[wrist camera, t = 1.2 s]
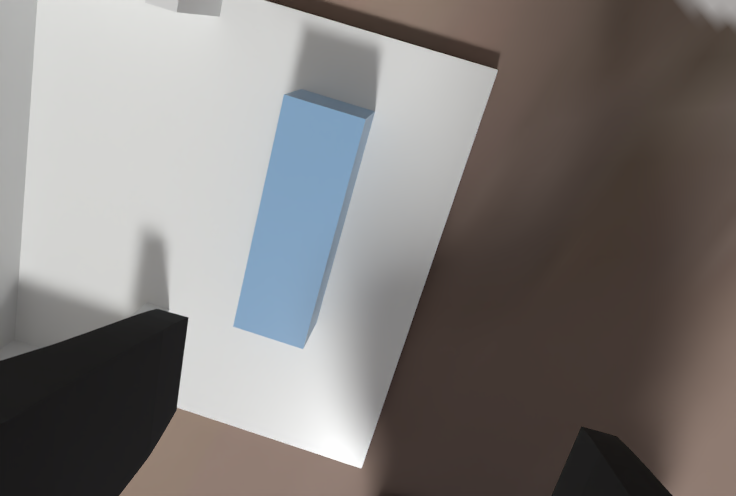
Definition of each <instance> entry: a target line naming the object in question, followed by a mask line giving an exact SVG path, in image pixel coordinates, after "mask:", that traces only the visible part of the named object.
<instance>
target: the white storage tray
mask: <svg viewBox="0 0 736 496" xmlns="http://www.w3.org/2000/svg"><path fill="white" fill-rule="evenodd" d="M497 72H498V70H497V69H494V68H491V67H487V66H484V65H481V64H477V63H474V62H471V61H467V60H464V59H461V58H457V57H454V56H451V55H447V54H444V53H441V52H437V51H434V50H430V49H427V48H424V47H420V46H417V45H414V44H410V43H407V42H404V41H400V40H397V39H394V38H390V37H387V36H384V35H380V34H377V33H374V32H370V31H367V30H363V29H360V28H357V27H353V26H350V25H347V24H343V23H340V22H337V21H333V20H330V19H327V18H323V17H320V16H317V15H313V14H310V13H306V12H303V11H300V10H296V9H293V8H290V7H286V6H283V5H280V4H276V3H273V2H270V1H266V0H0V361H1V360H4V359H8V358H11V357H14V356H17V355H20V354H24V353H27V352H30V351H33V350H36V349H40V348H43V347H46V346H49V345H53V344H55V343H58V342H61V341H64V340H67V339H70V338H73V337H75V336H78V335H81V334H84V333H87V332H90V331H92V330H95V329H98V328H101V327H104V326H106V325H109V324H112V323H115V322H117V321H120V320H123V319H126V318H129V317H131V316H134V315H137V314H140V313H143V312H146V311H150V310H154V309H160V310H164V311H167V312H171V313H174V314H178V315H182V316H185V317H189V318H188V326H187V333H186V341H185V348H184V356H183V364H182V371H181V379H180V387H179V394H178V402H177V408H180V409H183V410H186V411H189V412H192V413H195V414H198V415H201V416H204V417H207V418H211V419H214V420H217V421H220V422H223V423H226V424H229V425H232V426H235V427H238V428H241V429H244V430H247V431H250V432H253V433H256V434H259V435H262V436H265V437H268V438H271V439H274V440H277V441H280V442H283V443H286V444H289V445H292V446H295V447H298V448H301V449H304V450H307V451H310V452H313V453H316V454H319V455H322V456H325V457H328V458H331V459H334V460H337V461H340V462H343V463H346V464H349V465H352V466H355V467H358V468H362V465H363V462H364V459H365V457H366V454H367V451H368V448H369V445H370V442H371V439H372V436H373V433H374V430H375V427H376V425H377V422H378V419H379V416H380V413H381V410H382V407H383V404H384V401H385V398H386V395H387V392H388V390H389V387H390V384H391V381H392V378H393V375H394V372H395V369H396V366H397V363H398V360H399V357H400V355H401V352H402V349H403V346H404V343H405V340H406V337H407V334H408V331H409V328H410V325H411V322H412V320H413V317H414V314H415V311H416V308H417V305H418V302H419V299H420V296H421V293H422V290H423V287H424V285H425V282H426V279H427V276H428V273H429V270H430V267H431V264H432V261H433V258H434V255H435V253H436V250H437V247H438V244H439V241H440V238H441V235H442V232H443V229H444V226H445V223H446V220H447V218H448V215H449V212H450V209H451V206H452V203H453V200H454V197H455V194H456V191H457V188H458V185H459V183H460V180H461V177H462V174H463V171H464V168H465V165H466V162H467V159H468V156H469V153H470V150H471V148H472V145H473V142H474V139H475V136H476V133H477V130H478V127H479V124H480V121H481V118H482V116H483V113H484V110H485V107H486V104H487V101H488V98H489V95H490V92H491V89H492V86H493V83H494V81H495V78H496V75H497ZM300 89H303V90H306V91H309V92H313V93H316V94H319V95H323V96H326V97H329V98H332V99H336V100H339V101H342V102H346V103H349V104H352V105H355V106H359V107H362V108H365V109H369V110H372V111H375V114H374V117H373V121H372V125H371V128H370V132H369V136H368V139H367V143H366V146H365V150H364V154H363V157H362V161H361V164H360V168H359V172H358V175H357V179H356V182H355V186H354V190H353V193H352V197H351V201H350V204H349V208H348V211H347V215H346V219H345V222H344V226H343V229H342V233H341V237H340V240H339V244H338V248H337V251H336V255H335V258H334V262H333V266H332V269H331V273H330V276H329V280H328V284H327V287H326V291H325V294H324V298H323V302H322V305H321V309H320V313H319V316H318V320H317V323H316V325H315V327H314V329H313V331H312V333H311V335H310V337H309V339H308V341H307V343H306V345H305V347H304V349H301V348H298V347H295V346H292V345H288V344H285V343H282V342H279V341H276V340H273V339H270V338H267V337H264V336H261V335H258V334H254V333H251V332H248V331H245V330H242V329H239V328H236V327H233V325H234V320H235V316H236V311H237V306H238V302H239V297H240V293H241V288H242V284H243V279H244V275H245V270H246V265H247V261H248V256H249V252H250V247H251V243H252V238H253V233H254V229H255V224H256V220H257V215H258V211H259V206H260V202H261V197H262V192H263V188H264V183H265V179H266V174H267V170H268V165H269V160H270V156H271V151H272V147H273V142H274V138H275V133H276V128H277V124H278V119H279V115H280V110H281V106H282V101H283V97H284V94H287V93H290V92H293V91H297V90H300Z"/></svg>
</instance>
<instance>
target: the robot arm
mask: <svg viewBox="0 0 736 496" xmlns="http://www.w3.org/2000/svg"><path fill="white" fill-rule="evenodd" d="M188 318H189V317H185V316H182V315H178V314H174V313H171V312H167V311H164V310H160V309H154V310H150V311H146V312H143V313H140V314H137V315H134V316H131V317H129V318H126V319H123V320H120V321H117V322H115V323H112V324H109V325H106V326H104V327H101V328H98V329H95V330H92V331H90V332H87V333H84V334H81V335H78V336H75V337H73V338H70V339H67V340H64V341H61V342H58V343H55V344H53V345H49V346H46V347H43V348H40V349H36V350H33V351H30V352H27V353H24V354H20V355H17V356H14V357H11V358H8V359H4V360H1V361H0V496H119V495H120V494H121V492H122V491H123V490H124V488H125V487H126V486H127V484H128V483H129V482H130V481H131V479H132V478H133V477H134V475H135V474H136V473H137V472H138V470H139V469H140V468H141V466H142V465H143V464H144V462H145V461H146V460H147V458H148V457H149V456H150V454H151V452H152V451H153V449H154V447H155V446H156V444H157V443H158V441H159V439H160V438H161V436H162V434H163V433H164V431H165V429H166V427H167V426H168V424H169V422H170V420H171V419H172V417H173V415H174V413H175V412H176V409H177V402H178V394H179V387H180V379H181V371H182V364H183V356H184V348H185V341H186V333H187V326H188ZM552 496H672V495H671V494H670V492H669V491H668V490H667V489H666V488H665V487H664V486H663V485H662V484H661V483H660V481H659V480H658V479H657V478H656V477H655V476H654V475H653V474H652V473H651V471H650V470H649V469H648V468H647V467H646V466H645V465H644V464H643V463H642V462H641V461H640V460H639V458H638V457H637V456H636V455H635V454H634V453H633V452H632V451H631V450H630V449H629V448H628V447H627V446H626V445H625V444H624V443H623V442H622V441H621V440H620V439H619V438H618V437H616V436H613V435H610V434H606V433H602V432H599V431H595V430H592V429H588V428H584V427H581V429H580V431H579V434H578V436H577V438H576V441H575V443H574V445H573V448H572V450H571V452H570V454H569V457H568V459H567V461H566V464H565V466H564V468H563V471H562V473H561V475H560V478H559V480H558V482H557V485H556V487H555V489H554V492H553V494H552Z"/></svg>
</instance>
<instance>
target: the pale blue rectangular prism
mask: <svg viewBox="0 0 736 496" xmlns="http://www.w3.org/2000/svg"><path fill="white" fill-rule="evenodd" d="M374 114H375V111H372V110H369V109H365V108H362V107H359V106H355V105H352V104H349V103H346V102H342V101H339V100H336V99H332V98H329V97H326V96H323V95H319V94H316V93H313V92H309V91H306V90H303V89H300V90H297V91H293V92H290V93H287V94H284V97H283V101H282V106H281V110H280V115H279V119H278V124H277V128H276V133H275V138H274V142H273V147H272V151H271V156H270V160H269V165H268V170H267V174H266V179H265V183H264V188H263V192H262V197H261V202H260V206H259V211H258V215H257V220H256V224H255V229H254V233H253V238H252V243H251V247H250V252H249V256H248V261H247V265H246V270H245V275H244V279H243V284H242V288H241V293H240V297H239V302H238V306H237V311H236V316H235V320H234V325H233V327H236V328H239V329H242V330H245V331H248V332H251V333H254V334H258V335H261V336H264V337H267V338H270V339H273V340H276V341H279V342H282V343H285V344H288V345H292V346H295V347H298V348H301V349H304V347H305V345H306V343H307V341H308V339H309V337H310V335H311V333H312V331H313V329H314V327H315V325H316V323H317V320H318V316H319V313H320V309H321V305H322V302H323V298H324V294H325V291H326V287H327V284H328V280H329V276H330V273H331V269H332V266H333V262H334V258H335V255H336V251H337V248H338V244H339V240H340V237H341V233H342V229H343V226H344V222H345V219H346V215H347V211H348V208H349V204H350V201H351V197H352V193H353V190H354V186H355V182H356V179H357V175H358V172H359V168H360V164H361V161H362V157H363V154H364V150H365V146H366V143H367V139H368V136H369V132H370V128H371V125H372V121H373V117H374Z"/></svg>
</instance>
